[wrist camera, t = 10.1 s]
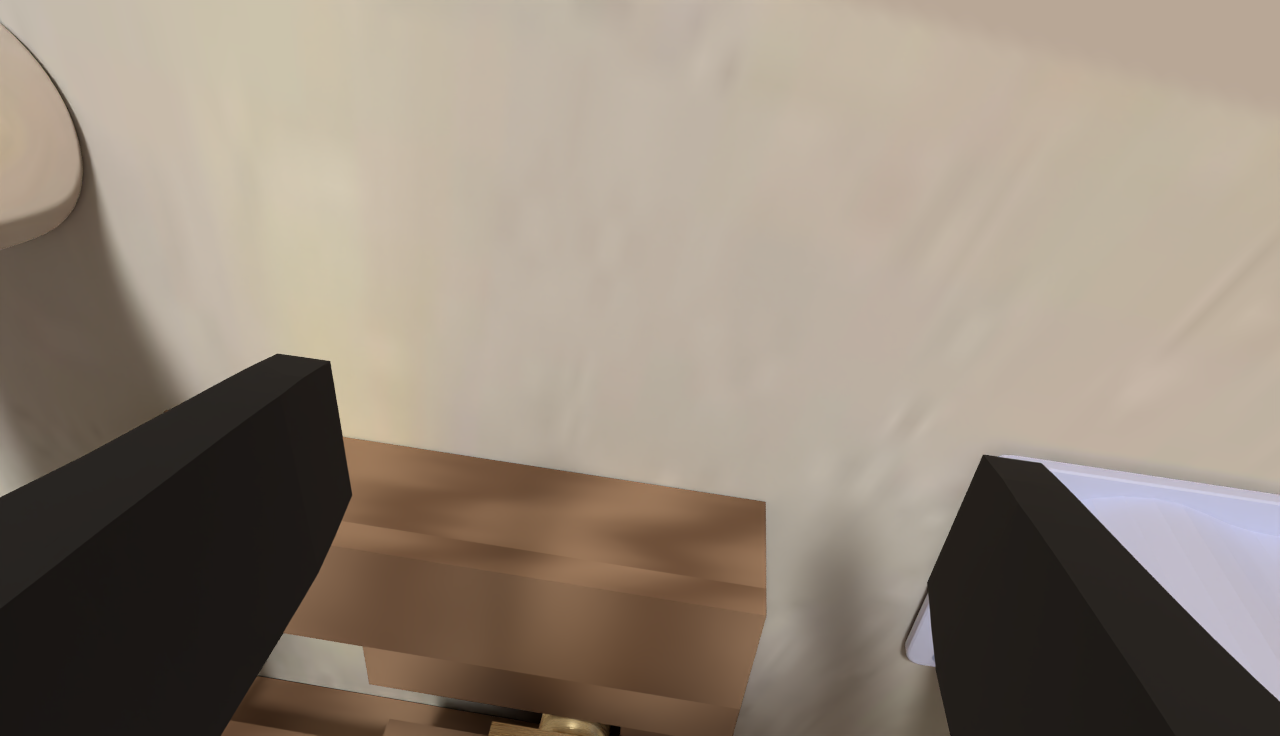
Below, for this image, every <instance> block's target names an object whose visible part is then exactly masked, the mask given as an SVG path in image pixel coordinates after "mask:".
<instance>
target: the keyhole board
mask: <svg viewBox="0 0 1280 736" xmlns="http://www.w3.org/2000/svg"><path fill="white" fill-rule="evenodd" d="M167 411H169V410H166V411H165V412H167ZM165 412H164V413H165ZM343 442H344V448H345V454H346V460H347V466H348V472H349V478H350V484H351V490H352V497H351V500H350V502H349V504H348V507H347V509H346V512H345V514H344V516H343V519H342V521H341V524H340V526H339V528H338V531H337V533H336V536H335V538H334V540H333V542H332V545H331V547H330V549H329V551H328V553H327V556H326V558H325V560H324V562H323V564H322V567H321V569H320V571H319V573H318V575H317V577H316V578H315V580H314V582H313V583H312V585H311V587H310V589H309V590H308V592H307V594H306V595H305V597H304V599H303V600H302V602H301V604H300V606H299V607H298V609H297V611H296V612H295V614H294V616H293V617H292V619H291V621H290V622H289V624H288V626H287V627H286V629H285V631H284V632H283V633H287V634H293V635H299V636H304V637H310V638H316V639H322V640H328V641H334V642H340V643H346V644H352V645H358V646H363V651H364V656H365V662H366V668H367V674H368V679H369V684H372V685H378V686H384V687H390V688H396V689H402V690H407V691H413V692H419V693H425V694H431V695H437V696H443V697H449V698H455V699H461V700H466V701H472V702H478V703H484V704H490V705H496V706H502V707H508V708H514V709H519V710H525V711H531V712H537V713H543V714H549V715H555V716H561V717H567V718H572V719H578V720H584V721H590V722H596V723H602V724H608V725H614V726H620V727H621V731H620V736H733V732H734V729H735V725H736V722H737V718H738V715H739V711H740V708H741V704H742V700H743V697H744V693H745V690H746V686H747V683H748V679H749V676H750V672H751V669H752V665H753V661H754V658H755V654H756V651H757V647H758V644H759V640H760V637H761V633H762V629H763V626H764V622H765V619H766V502H762V501H756V500H749V499H742V498H736V497H729V496H723V495H716V494H710V493H703V492H697V491H690V490H684V489H677V488H671V487H664V486H658V485H651V484H645V483H638V482H632V481H625V480H619V479H612V478H606V477H599V476H593V475H586V474H580V473H573V472H567V471H560V470H554V469H547V468H541V467H534V466H528V465H521V464H515V463H508V462H502V461H495V460H489V459H482V458H476V457H469V456H463V455H456V454H450V453H443V452H437V451H430V450H424V449H417V448H411V447H404V446H398V445H391V444H385V443H378V442H372V441H365V440H359V439H352V438H346V437H343ZM492 721H495V722H501V723H506V724H512V725H518V726H524V727H530V728H535V729H539V726H540V724H536V723H530V722H525V721H519V720H513V719H507V718H501V717H495V716H489V715H484V714H478V713H472V712H466V711H460V710H454V709H448V708H442V707H437V706H431V705H425V704H419V703H413V702H407V701H401V700H395V699H390V698H384V697H378V696H372V695H366V694H360V693H354V692H349V691H343V690H337V689H331V688H325V687H319V686H313V685H307V684H302V683H296V682H290V681H284V680H278V679H272V678H266V677H261V676H257V677H256V679H255V680H254V682H253V683H252V685H251V687H250V688H249V690H248V692H247V693H246V695H245V697H244V698H243V700H242V702H241V703H240V705H239V707H238V708H237V710H236V711H235V713H234V715H233V716H232V718H231V720H230V721H229V723H228V725H227V726H226V728H225V730H224V731H223V733H222V735H221V736H488V734H489V731H490V728H491V724H492Z"/></svg>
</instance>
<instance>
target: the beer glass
mask: <svg viewBox="0 0 1280 736" xmlns="http://www.w3.org/2000/svg"><path fill="white" fill-rule="evenodd" d="M82 179H83V164H82V154H81V149H80V144H79V140H78V136H77V133H76V130H75V127H74V124H73V121H72V119H71V116H70V114H69V112H68V110H67V107H66V105H65V103H64V101H63V99H62V98H61V96H60V94H59V92H58V91H57V89H56V87H55V86H54V84H53V83H52V81H51V80H50V78H49V77H48V75H47V74H46V72H45V71H44V70H43V68H42V67H41V66H40V64H39V63H38V62H37V61H36V59H35V58H34V57H33V56H32V55H31V53H30V52H29V51H28V50H27V49H26V48H25V47H24V46H23V45H22V43H21V42H20V41H19V40H18V39H17V38H16V37H15V36H14V35H13V34H12V33H10V32H9V31H8V30H7V29H6V28H5V27H4V26H3V25H2V24H1V23H0V250H1V249H5V248H8V247H11V246H14V245H18V244H21V243H24V242H26V241H29V240H32V239H35V238H37V237H39V236H42V235H44V234H46V233H48V232H50V231H51V230H53V229H55V228H56V227H57V226H59V225H60V224H61V223H62V222H63V221H64V220H65V219H66V218H67V217H68V216H69V214H70V213H71V212H72V210H73V209H74V207H75V205H76V203H77V201H78V198H79V195H80V192H81V187H82Z"/></svg>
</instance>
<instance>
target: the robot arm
mask: <svg viewBox="0 0 1280 736" xmlns="http://www.w3.org/2000/svg"><path fill="white" fill-rule="evenodd" d="M351 497H352V490H351V484H350V478H349V472H348V466H347V460H346V454H345V448H344V442H343V436H342V430H341V424H340V418H339V412H338V406H337V400H336V394H335V388H334V382H333V376H332V370H331V364H330V361H325V360H318V359H311V358H304V357H297V356H291V355H284V354H276V355H274V356H272V357H269V358H267V359H265V360H263V361H261V362H259V363H257V364H255V365H253V366H251V367H249V368H247V369H245V370H243V371H241V372H239V373H237V374H235V375H233V376H231V377H229V378H228V379H226V380H224V381H222V382H220V383H218V384H216V385H214V386H213V387H211V388H209V389H207V390H205V391H203V392H202V393H200V394H198V395H196V396H194V397H192V398H191V399H189V400H187V401H185V402H183V403H181V404H180V405H178V406H176V407H174V408H172V409H170V410H169V411H167V412H165V413H163V414H161V415H159V416H157V417H156V418H154V419H152V420H150V421H148V422H146V423H144V424H143V425H141V426H139V427H137V428H135V429H133V430H131V431H130V432H128V433H126V434H124V435H122V436H120V437H118V438H116V439H115V440H113V441H111V442H109V443H107V444H105V445H103V446H102V447H100V448H98V449H96V450H94V451H92V452H90V453H88V454H87V455H85V456H83V457H81V458H79V459H77V460H75V461H73V462H71V463H69V464H67V465H65V466H63V467H61V468H59V469H57V470H55V471H53V472H51V473H49V474H47V475H45V476H43V477H41V478H39V479H37V480H34V481H32V482H30V483H28V484H26V485H24V486H22V487H20V488H18V489H16V490H14V491H12V492H10V493H8V494H6V495H4V496H2V497H0V736H221V735H222V733H223V731H224V730H225V728H226V726H227V725H228V723H229V721H230V720H231V718H232V716H233V715H234V713H235V711H236V710H237V708H238V707H239V705H240V703H241V702H242V700H243V698H244V697H245V695H246V693H247V692H248V690H249V688H250V687H251V685H252V683H253V682H254V680H255V679H256V677H257V675H258V674H259V672H260V670H261V669H262V667H263V665H264V664H265V662H266V660H267V659H268V657H269V655H270V654H271V652H272V651H273V649H274V647H275V646H276V644H277V642H278V641H279V639H280V637H281V636H282V634H283V632H284V631H285V629H286V627H287V626H288V624H289V622H290V621H291V619H292V617H293V616H294V614H295V612H296V611H297V609H298V607H299V606H300V604H301V602H302V600H303V599H304V597H305V595H306V594H307V592H308V590H309V589H310V587H311V585H312V583H313V582H314V580H315V578H316V577H317V575H318V573H319V571H320V569H321V567H322V564H323V562H324V560H325V558H326V556H327V553H328V551H329V549H330V547H331V545H332V542H333V540H334V538H335V536H336V533H337V531H338V528H339V526H340V524H341V521H342V519H343V516H344V514H345V512H346V509H347V507H348V504H349V502H350V500H351ZM927 584H928V594H927V596H926V598H925V600H924V602H923V605H922V607H921V609H920V611H919V614H918V616H917V618H916V620H915V622H914V625H913V627H912V629H911V631H910V634H909V636H908V638H907V640H906V642H905V650H906V655H907V657H908V659H909V660H911V661H912V662H914V663H917V664H920V665H926V666H932V667H936V673H937V677H938V682H939V687H940V691H941V696H942V700H943V704H944V709H945V713H946V718H947V722H948V726H949V731H950V735H951V736H1280V495H1278V494H1272V493H1265V492H1258V491H1251V490H1245V489H1238V488H1231V487H1224V486H1218V485H1211V484H1204V483H1197V482H1191V481H1184V480H1177V479H1170V478H1164V477H1157V476H1150V475H1143V474H1137V473H1130V472H1123V471H1116V470H1110V469H1103V468H1096V467H1089V466H1083V465H1076V464H1069V463H1062V462H1056V461H1049V460H1042V459H1036V458H1029V457H1022V456H1015V455H1002V456H998V457H996V456H989V455H983V456H982V458H981V461H980V463H979V465H978V468H977V470H976V472H975V475H974V477H973V479H972V481H971V484H970V486H969V488H968V491H967V493H966V495H965V497H964V500H963V502H962V504H961V507H960V509H959V511H958V513H957V516H956V518H955V520H954V523H953V525H952V527H951V530H950V532H949V534H948V536H947V539H946V541H945V543H944V546H943V548H942V550H941V552H940V555H939V557H938V559H937V562H936V564H935V566H934V568H933V571H932V573H931V575H930V578H929V580H928V582H927Z"/></svg>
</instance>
